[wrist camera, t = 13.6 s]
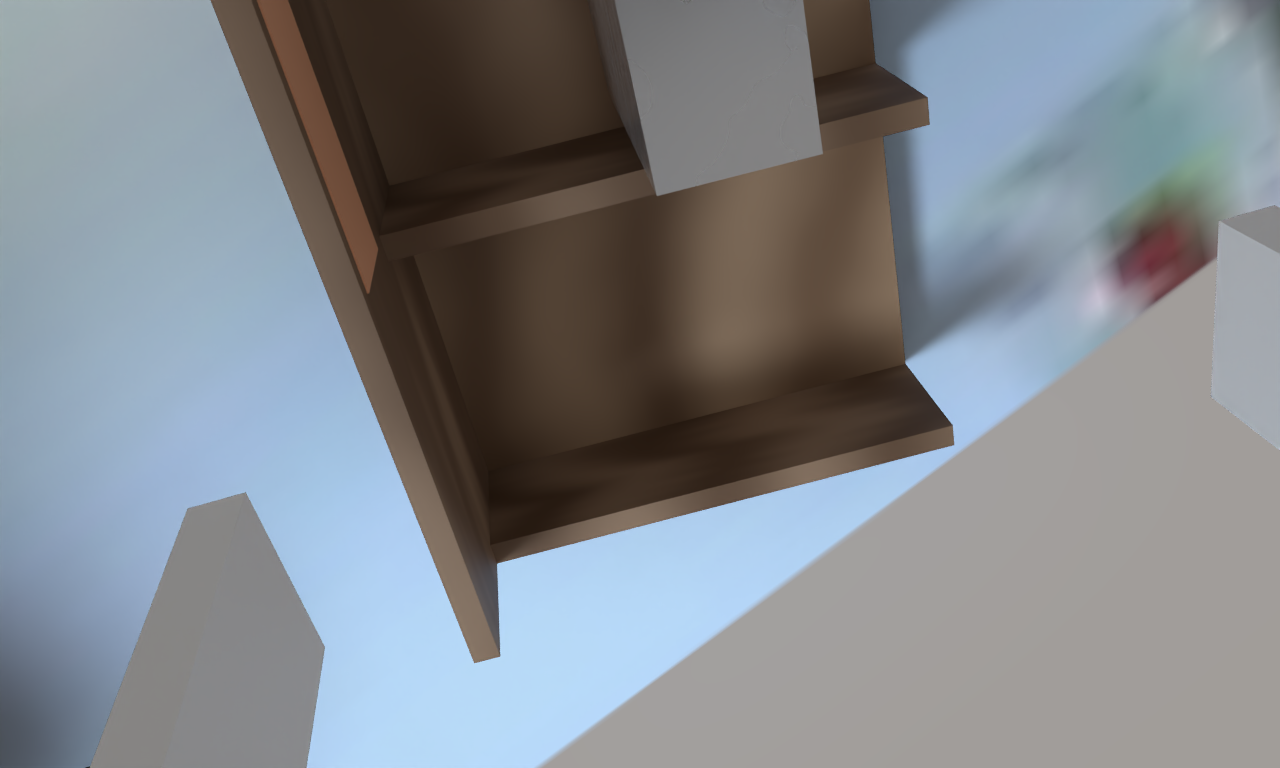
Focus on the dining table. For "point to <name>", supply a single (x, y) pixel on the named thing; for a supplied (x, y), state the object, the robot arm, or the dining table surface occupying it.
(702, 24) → the block
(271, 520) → the dining table surface
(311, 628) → the robot arm
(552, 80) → the rack
